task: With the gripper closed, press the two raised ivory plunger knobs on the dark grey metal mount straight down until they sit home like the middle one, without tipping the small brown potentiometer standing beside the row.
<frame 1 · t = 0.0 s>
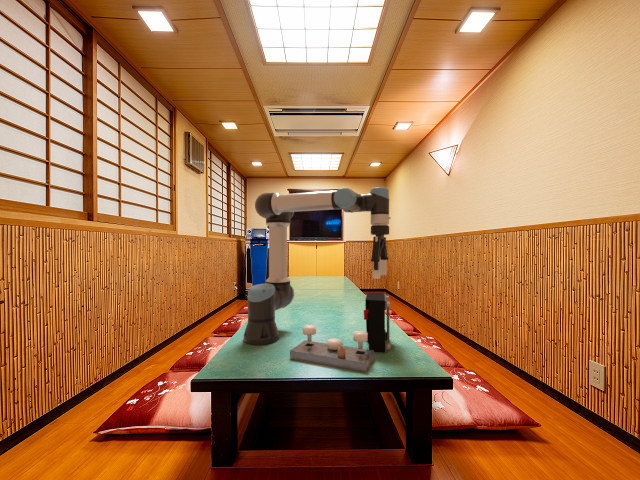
hand: (380, 276, 119), 28 cm above the table, fingers open, 13 cm apart
mount: (332, 358, 105), on the table
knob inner: (309, 333, 110), point 7 cm above the table, slide at 0.0 cm
knob mid: (334, 347, 106), point 3 cm above the table, slide at 4.0 cm
knob outer: (360, 340, 103), point 7 cm above the table, slide at 0.0 cm
electrical component: (377, 345, 119), on the table
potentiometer: (341, 356, 99), point 3 cm above the table, touching mount
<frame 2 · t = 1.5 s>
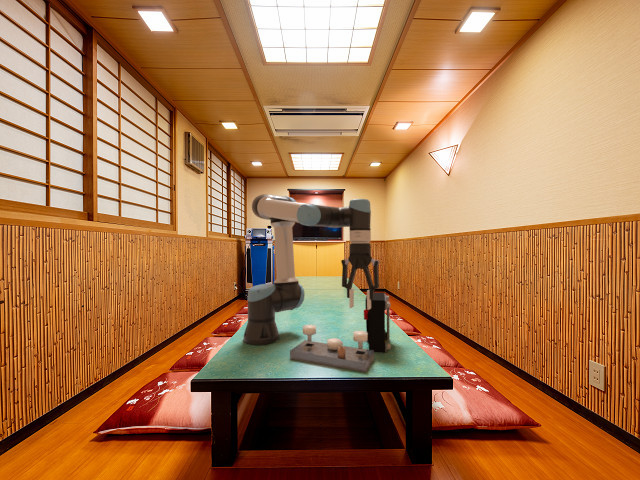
hand: (360, 307, 103), 19 cm above the table, fingers open, 6 cm apart
nothing on the table moved.
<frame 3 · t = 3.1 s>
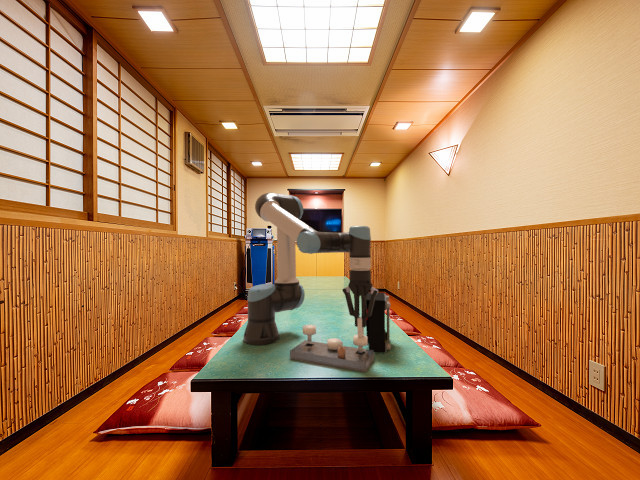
hand: (360, 336, 102), 9 cm above the table, fingers closed
knob outer: (360, 344, 103), point 6 cm above the table, slide at 1.4 cm, touching gripper
everything else where it was.
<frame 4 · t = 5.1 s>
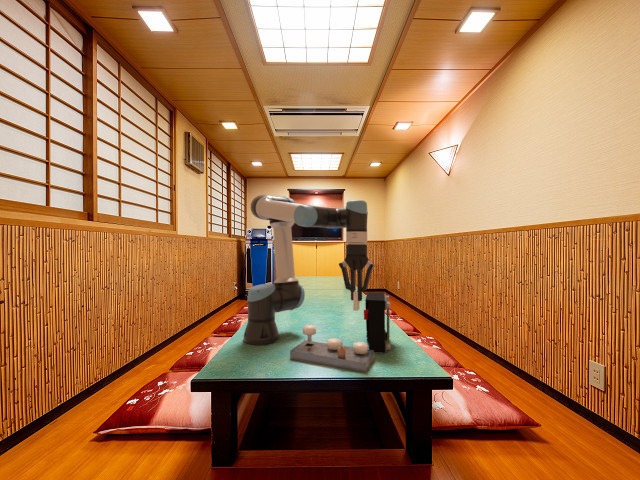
hand: (356, 309, 103), 18 cm above the table, fingers closed
knob outer: (360, 351, 103), point 3 cm above the table, slide at 4.0 cm
everything else where it was.
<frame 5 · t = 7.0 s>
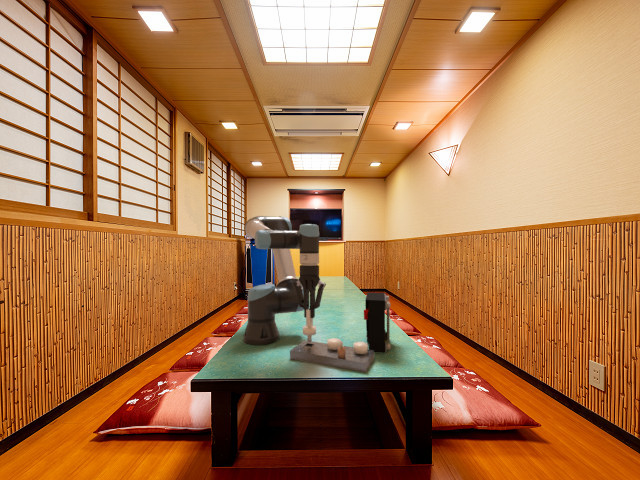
hand: (309, 326, 110), 10 cm above the table, fingers closed
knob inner: (309, 334, 110), point 7 cm above the table, slide at 0.2 cm, touching gripper
everything else where it was.
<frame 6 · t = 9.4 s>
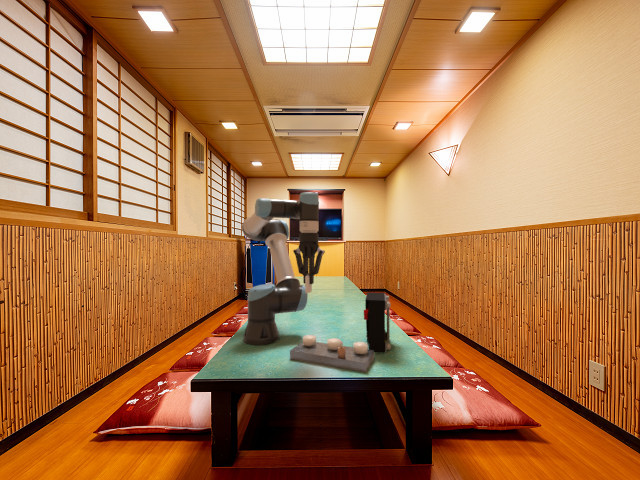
hand: (308, 292, 114), 23 cm above the table, fingers closed
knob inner: (309, 344, 110), point 3 cm above the table, slide at 4.0 cm
everything else where it was.
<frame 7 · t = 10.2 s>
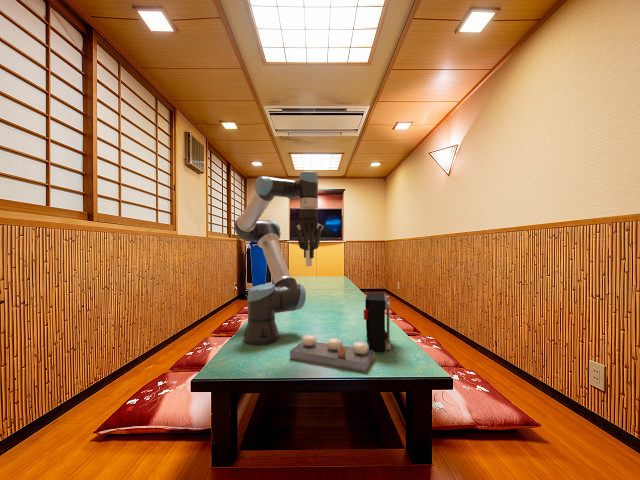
hand: (308, 266, 120), 32 cm above the table, fingers closed
nothing on the table moved.
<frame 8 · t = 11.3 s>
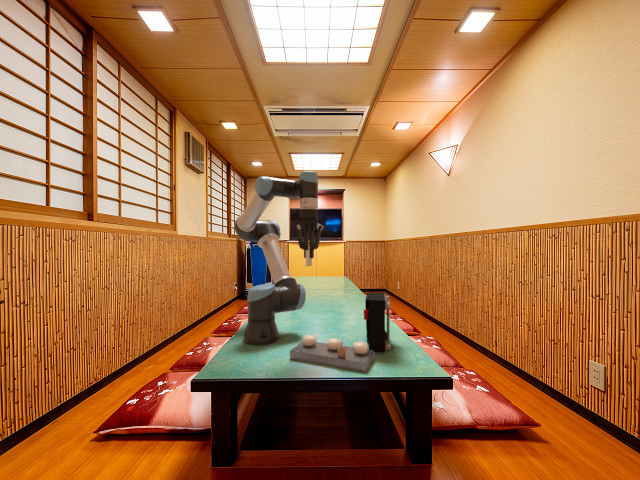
hand: (308, 266, 120), 32 cm above the table, fingers closed
nothing on the table moved.
at the end: knob outer slide at 4.0 cm; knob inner slide at 4.0 cm; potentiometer tilted 0° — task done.
